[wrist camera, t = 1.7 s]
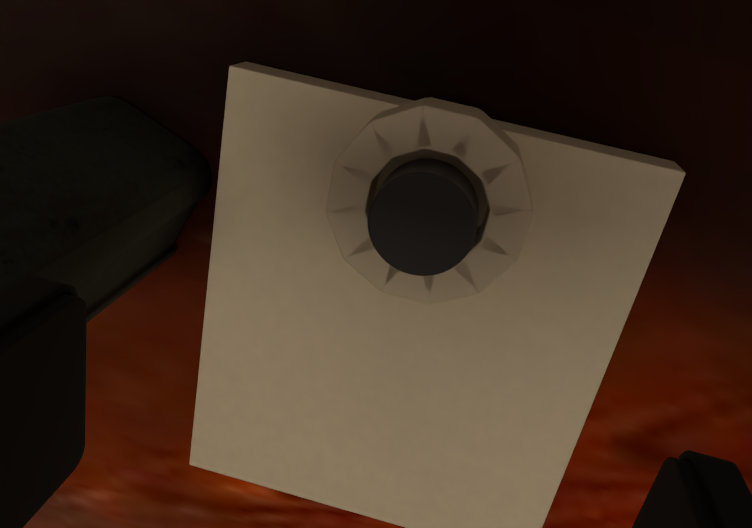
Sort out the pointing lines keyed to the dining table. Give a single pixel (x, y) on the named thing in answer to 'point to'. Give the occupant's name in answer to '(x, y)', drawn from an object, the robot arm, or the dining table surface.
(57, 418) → the robot arm
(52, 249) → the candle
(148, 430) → the dining table surface
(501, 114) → the dining table surface
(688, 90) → the dining table surface
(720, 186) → the dining table surface
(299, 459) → the white base plate
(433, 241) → the dark round knob center
